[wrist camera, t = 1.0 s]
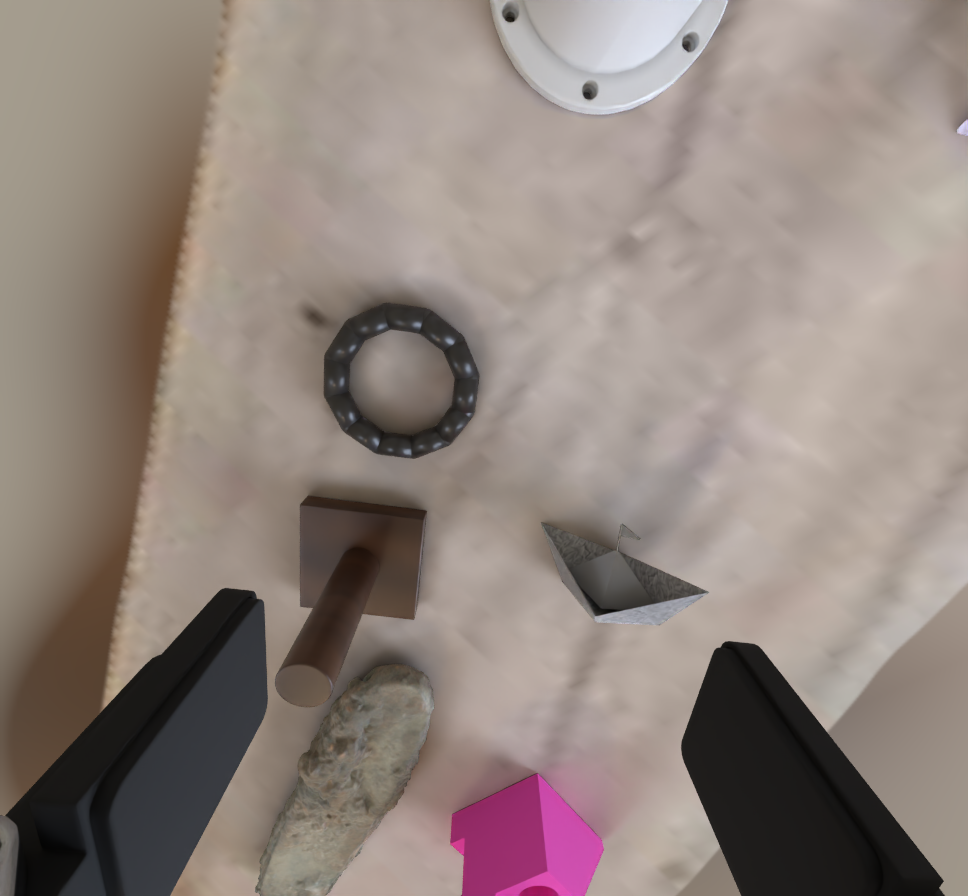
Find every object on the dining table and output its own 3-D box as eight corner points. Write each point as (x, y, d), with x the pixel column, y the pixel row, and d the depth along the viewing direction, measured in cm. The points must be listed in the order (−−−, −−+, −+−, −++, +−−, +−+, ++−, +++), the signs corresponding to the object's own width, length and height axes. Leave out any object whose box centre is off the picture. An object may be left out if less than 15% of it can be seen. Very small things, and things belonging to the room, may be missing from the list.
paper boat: (518, 606, 35) (518, 522, 30) (554, 553, 40) (559, 471, 35) (677, 686, 30) (710, 599, 25) (698, 614, 34) (730, 526, 29)
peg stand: (307, 495, 34) (210, 606, 22) (427, 510, 34) (394, 626, 22) (307, 594, 37) (221, 739, 25) (417, 607, 37) (384, 756, 25)
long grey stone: (248, 854, 49) (335, 873, 51) (224, 919, 45) (321, 937, 46) (351, 637, 37) (461, 672, 39) (333, 695, 32) (459, 732, 34)
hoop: (330, 293, 29) (321, 294, 27) (487, 315, 29) (487, 317, 28) (327, 442, 32) (319, 450, 31) (468, 460, 33) (467, 469, 31)
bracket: (452, 814, 45) (442, 957, 36) (537, 773, 43) (551, 913, 33) (519, 875, 48) (527, 1022, 39) (601, 840, 46) (631, 985, 37)
